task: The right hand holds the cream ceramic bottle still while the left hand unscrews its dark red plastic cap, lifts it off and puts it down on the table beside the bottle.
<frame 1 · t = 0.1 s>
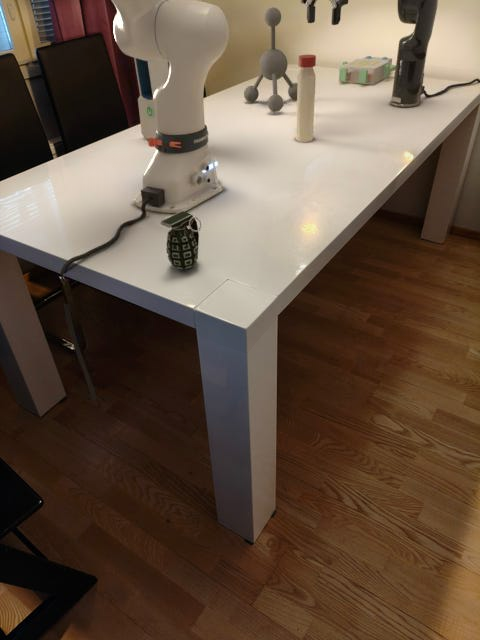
right hand: (322, 23, 130), 29 cm above the table, tool pointing down, fingers open, 8 cm apart
molecular model: (278, 104, 178), on the table
decorative block: (365, 79, 203), on the table
bottle: (304, 139, 146), on the table
grenade: (185, 266, 91), on the table
cap: (307, 57, 132), point 22 cm above the table, screwed on, not yet turned
electronic device: (163, 138, 153), on the table
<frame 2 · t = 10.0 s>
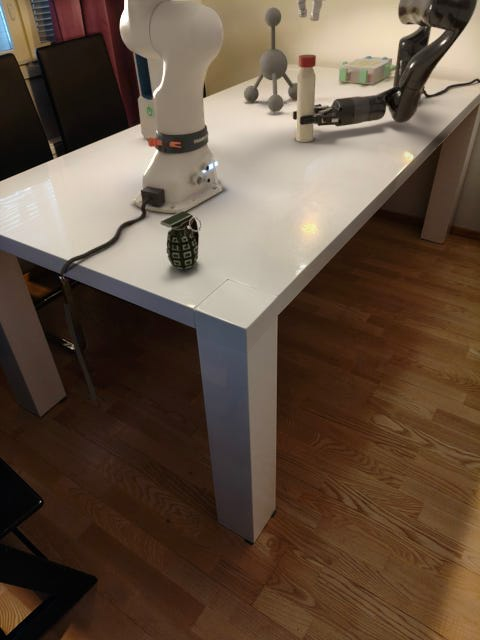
left hand: (308, 19, 127), 31 cm above the table, tool pointing down, fingers open, 7 cm apart
right hand: (296, 118, 141), 6 cm above the table, tool horizontal, fingers closed on bottle, 5 cm apart
bottle: (304, 139, 146), on the table, touching right hand
everything else where it was.
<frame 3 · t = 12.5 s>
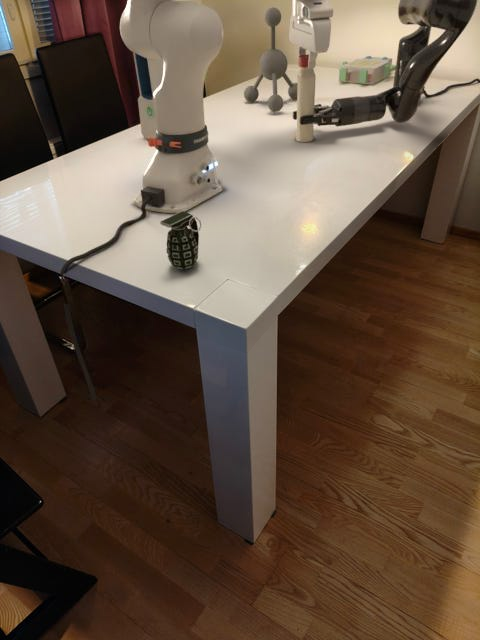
left hand: (306, 66, 134), 20 cm above the table, tool pointing down, fingers closed on cap, 4 cm apart
right hand: (296, 118, 141), 6 cm above the table, tool horizontal, fingers closed on bottle, 5 cm apart
bottle: (304, 139, 146), on the table, touching right hand
cap: (307, 57, 132), point 22 cm above the table, screwed on, not yet turned, touching left hand
everything else where it was.
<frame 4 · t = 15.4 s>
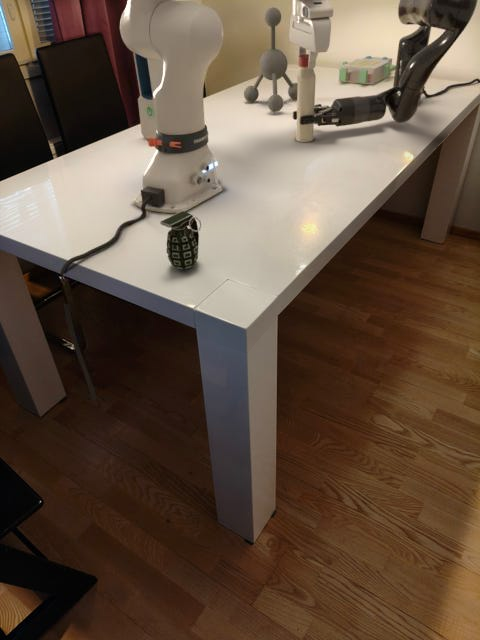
left hand: (307, 66, 134), 20 cm above the table, tool pointing down, fingers closed on cap, 4 cm apart
right hand: (297, 118, 141), 6 cm above the table, tool horizontal, fingers closed on bottle, 5 cm apart
bottle: (304, 139, 146), on the table, touching right hand
cap: (307, 57, 132), point 22 cm above the table, turned 80° so far, risen 0.1 cm, still on its thread, touching left hand
everything else where it was.
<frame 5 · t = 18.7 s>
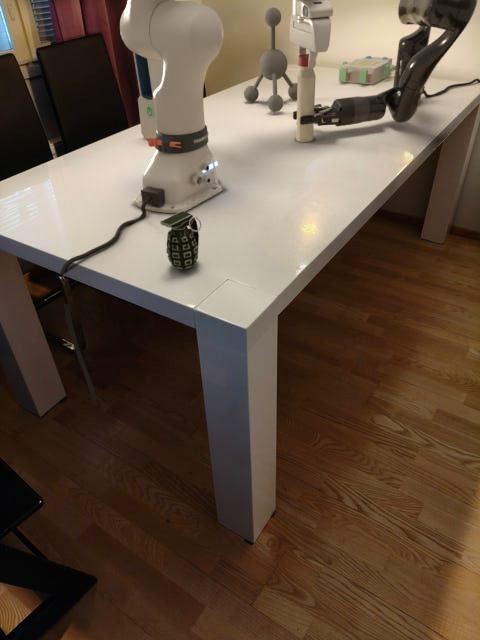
left hand: (307, 65, 134), 20 cm above the table, tool pointing down, fingers closed on cap, 4 cm apart
right hand: (297, 118, 141), 6 cm above the table, tool horizontal, fingers closed on bottle, 5 cm apart
bottle: (304, 139, 146), on the table, touching right hand
cap: (307, 56, 132), point 22 cm above the table, turned 159° so far, risen 0.1 cm, still on its thread, touching left hand
everything else where it was.
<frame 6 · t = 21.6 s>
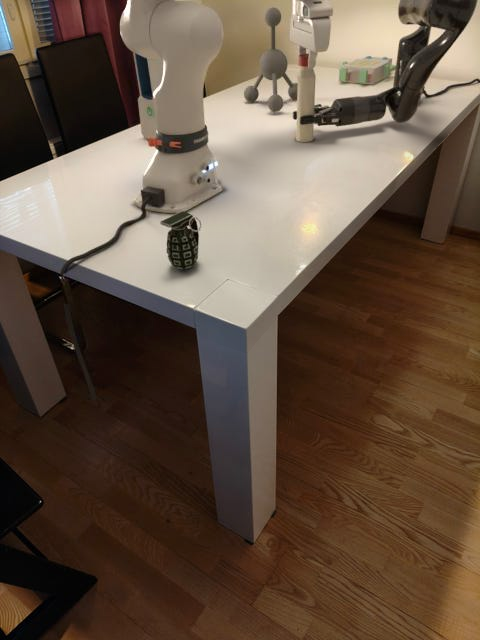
left hand: (307, 65, 133), 20 cm above the table, tool pointing down, fingers closed on cap, 4 cm apart
right hand: (297, 118, 141), 6 cm above the table, tool horizontal, fingers closed on bottle, 5 cm apart
bottle: (304, 139, 146), on the table, touching right hand
cap: (307, 56, 132), point 22 cm above the table, turned 239° so far, risen 0.2 cm, still on its thread, touching left hand
everything else where it was.
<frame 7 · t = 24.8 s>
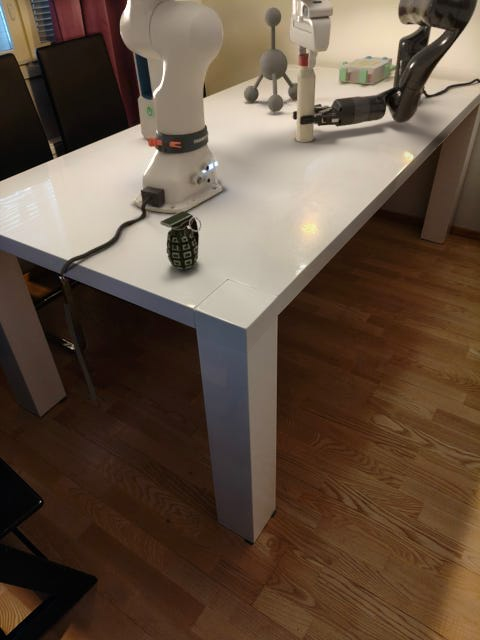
left hand: (307, 65, 133), 20 cm above the table, tool pointing down, fingers closed on cap, 4 cm apart
right hand: (297, 118, 141), 6 cm above the table, tool horizontal, fingers closed on bottle, 5 cm apart
bottle: (304, 139, 146), on the table, touching right hand
cap: (307, 56, 132), point 22 cm above the table, turned 319° so far, risen 0.3 cm, still on its thread, touching left hand
everything else where it was.
when the left hand's fingers open (2 cm above the table, at t = 34.4 s): cap drops 2 cm, point 2 cm above the table.
when the right hand's fingers open (6 cm above the table, at t = 35.5 s): bottle stays where it is, on the table.
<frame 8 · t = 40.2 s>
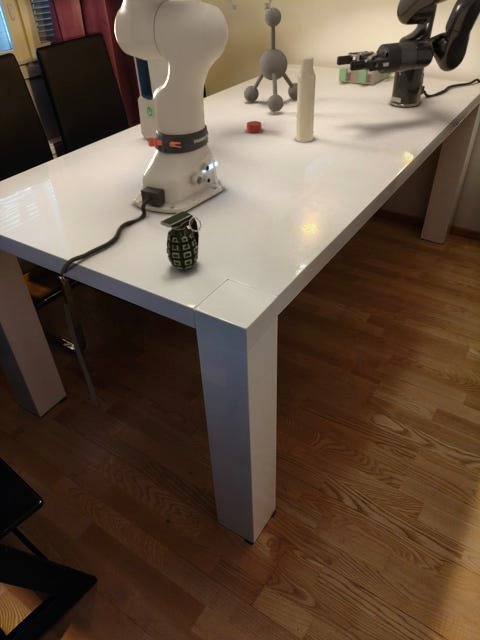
left hand: (250, 11, 135), 32 cm above the table, tool pointing down, fingers open, 8 cm apart
right hand: (343, 63, 136), 19 cm above the table, tool horizontal, fingers open, 8 cm apart
bottle: (304, 139, 146), on the table
cap: (253, 124, 153), point 2 cm above the table, off its thread
everything else where it was.
at the end: cap came off its thread; cap point 2.1 cm above the table; the left hand is holding nothing; the right hand is holding nothing; bottle tilted 0°; bottle moved 0.0 cm from its start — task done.
